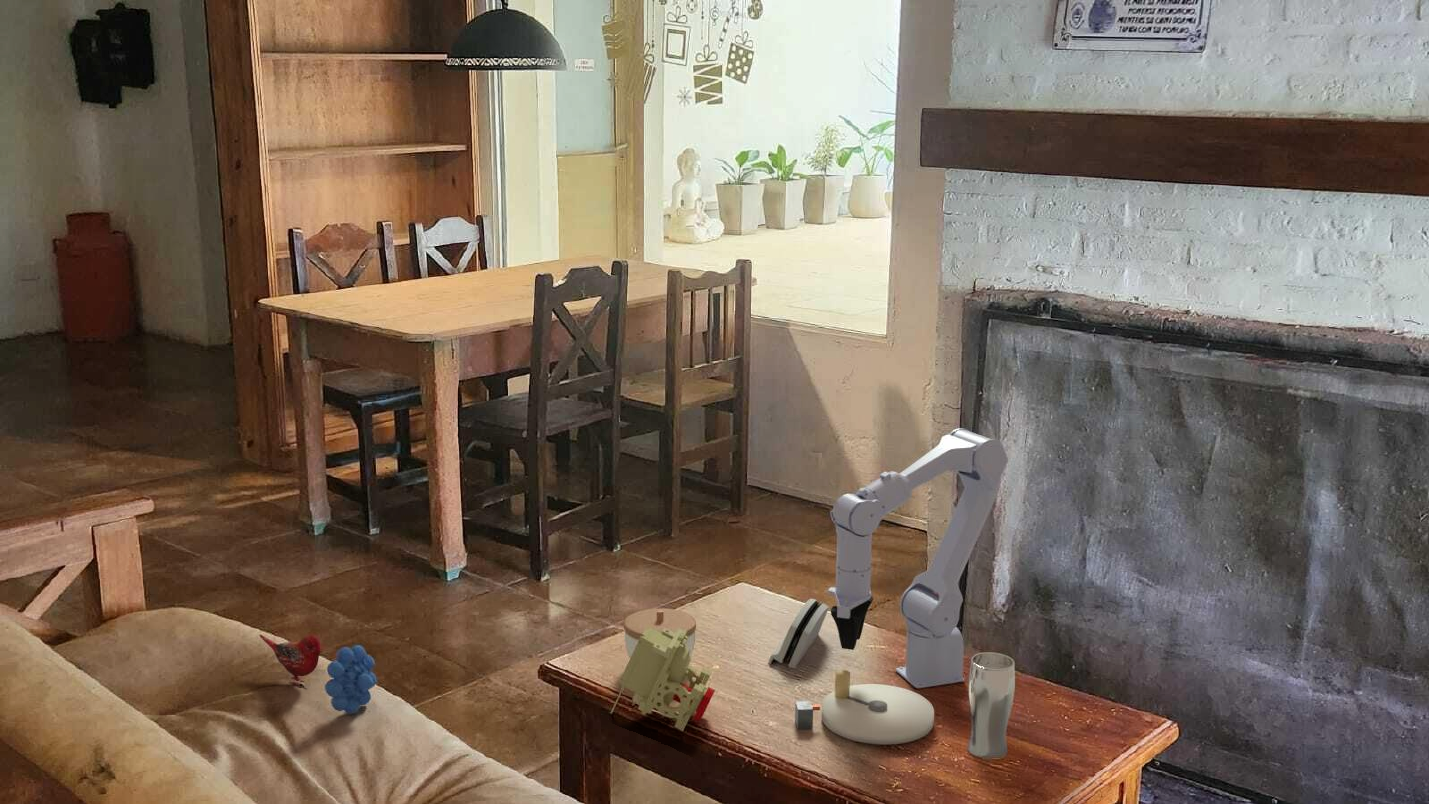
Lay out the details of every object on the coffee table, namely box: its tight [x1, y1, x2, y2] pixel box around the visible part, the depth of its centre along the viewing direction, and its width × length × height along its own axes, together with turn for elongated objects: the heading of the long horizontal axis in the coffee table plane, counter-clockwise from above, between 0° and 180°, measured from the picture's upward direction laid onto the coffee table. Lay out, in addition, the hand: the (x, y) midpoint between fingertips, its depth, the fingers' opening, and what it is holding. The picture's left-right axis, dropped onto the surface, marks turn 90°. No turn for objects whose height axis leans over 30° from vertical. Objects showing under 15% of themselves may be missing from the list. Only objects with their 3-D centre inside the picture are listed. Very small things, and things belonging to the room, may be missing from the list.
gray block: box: [794, 700, 821, 731], centre depth 215 cm, size 4×3×4 cm
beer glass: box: [967, 651, 1016, 760], centre depth 205 cm, size 7×7×15 cm
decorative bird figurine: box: [259, 634, 323, 682], centre depth 229 cm, size 3×18×10 cm, turn 53°
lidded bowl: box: [623, 607, 697, 659], centre depth 234 cm, size 13×13×11 cm
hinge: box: [767, 598, 830, 669], centre depth 243 cm, size 17×5×10 cm, turn 161°
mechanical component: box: [610, 628, 716, 732], centre depth 215 cm, size 8×17×20 cm, turn 79°
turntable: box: [821, 669, 935, 745], centre depth 215 cm, size 18×18×6 cm
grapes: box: [324, 644, 378, 715], centre depth 216 cm, size 12×7×12 cm, turn 157°
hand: (850, 643), depth 224 cm, fingers open, 4 cm apart
